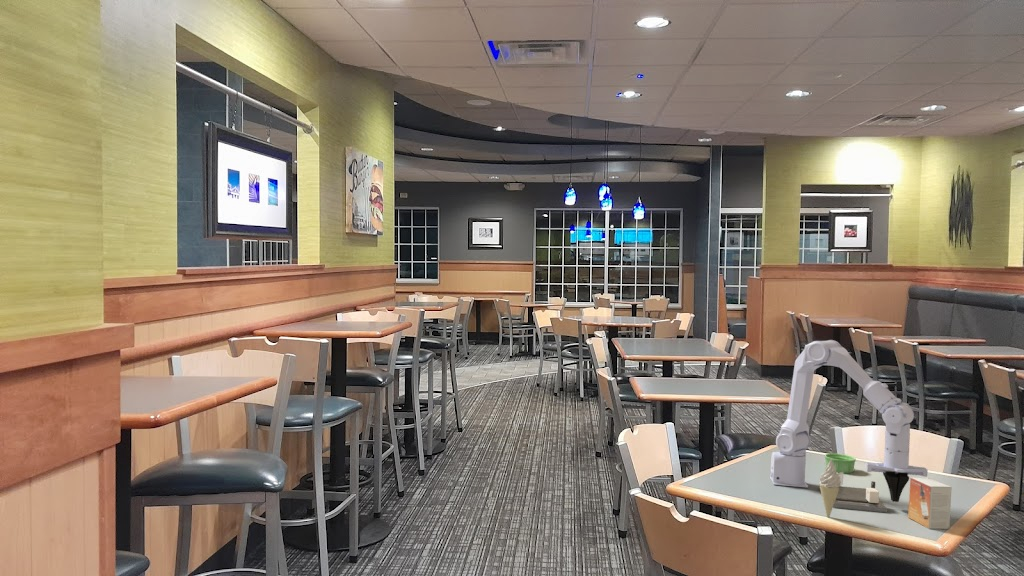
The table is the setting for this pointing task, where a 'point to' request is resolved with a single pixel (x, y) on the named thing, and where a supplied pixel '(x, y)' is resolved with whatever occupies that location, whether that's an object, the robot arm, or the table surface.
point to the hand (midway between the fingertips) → (894, 500)
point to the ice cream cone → (829, 486)
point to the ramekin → (841, 462)
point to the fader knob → (872, 495)
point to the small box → (930, 503)
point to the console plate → (856, 500)
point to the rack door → (841, 477)
